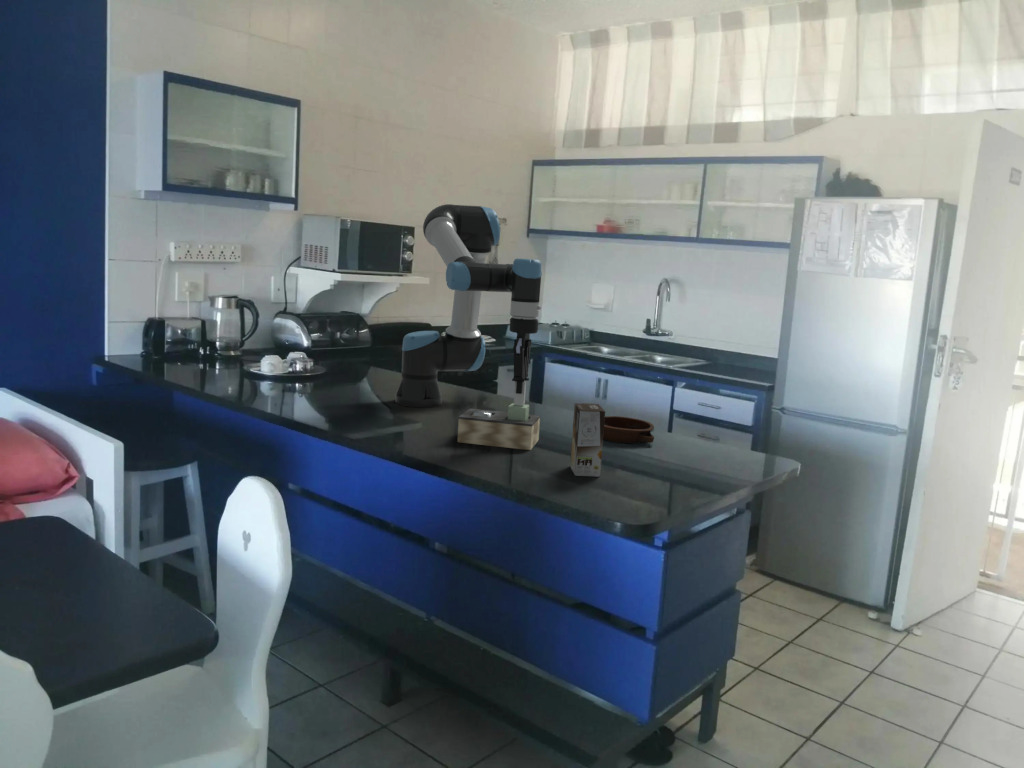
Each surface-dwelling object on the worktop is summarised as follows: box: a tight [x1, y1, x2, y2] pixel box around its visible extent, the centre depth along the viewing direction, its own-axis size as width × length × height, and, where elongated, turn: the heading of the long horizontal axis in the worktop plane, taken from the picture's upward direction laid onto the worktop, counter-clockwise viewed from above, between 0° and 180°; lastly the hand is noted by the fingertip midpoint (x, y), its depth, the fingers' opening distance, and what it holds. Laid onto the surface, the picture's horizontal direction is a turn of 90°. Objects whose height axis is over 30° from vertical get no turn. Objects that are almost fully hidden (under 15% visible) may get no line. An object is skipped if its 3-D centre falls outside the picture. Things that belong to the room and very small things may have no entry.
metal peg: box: [473, 411, 492, 417], centre depth 226 cm, size 5×5×7 cm
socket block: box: [457, 407, 541, 451], centre depth 226 cm, size 20×12×7 cm, turn 78°
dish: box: [603, 415, 655, 444], centre depth 238 cm, size 18×22×5 cm
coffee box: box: [569, 402, 606, 478], centre depth 200 cm, size 9×6×16 cm
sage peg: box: [507, 402, 530, 421], centre depth 224 cm, size 5×5×7 cm
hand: (519, 404), depth 223 cm, fingers closed
